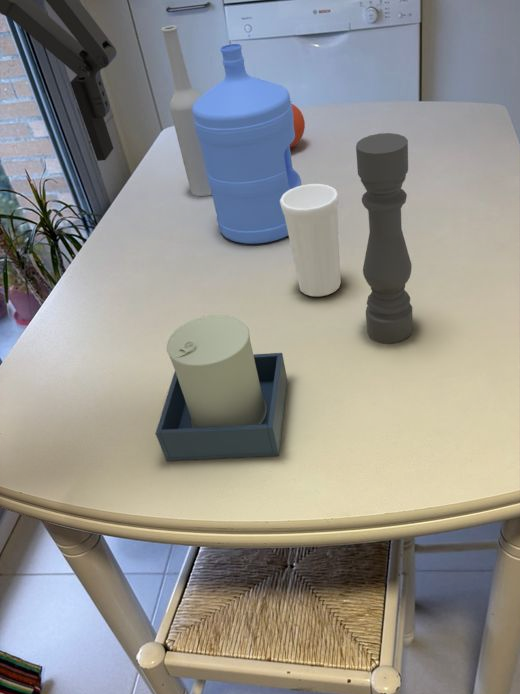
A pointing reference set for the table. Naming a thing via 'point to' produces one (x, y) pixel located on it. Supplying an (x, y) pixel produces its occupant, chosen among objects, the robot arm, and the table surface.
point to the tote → (226, 440)
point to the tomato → (297, 125)
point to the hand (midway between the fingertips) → (34, 161)
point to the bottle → (185, 116)
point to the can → (217, 372)
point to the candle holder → (385, 236)
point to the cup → (314, 236)
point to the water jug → (247, 151)
